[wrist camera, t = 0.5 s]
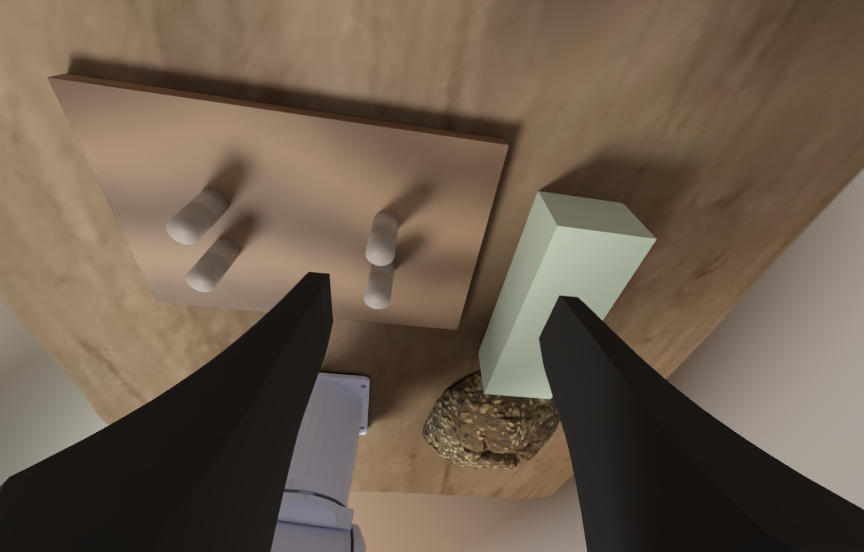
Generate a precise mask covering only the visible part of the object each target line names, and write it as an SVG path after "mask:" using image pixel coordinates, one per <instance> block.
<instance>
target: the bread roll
mask: <svg viewBox="0 0 864 552" xmlns="http://www.w3.org/2000/svg"><path fill="white" fill-rule="evenodd" d="M559 421H560V417H559V414H558V411H557V408H556V405H555V402H554V399H553V396H552V398H551V399H541V398H529V397H517V396H504V395H492V394H484V390H483V383H482V376H481V372H479V373H477V374H475V375H473V376H470V377H469V378H467V379H466V380H464V381H462V382H461V383H459V384H458V385H456V386H455V387H454V388H452V389H450V390H447V391H446V392H445V393H444V394H443V396H442V397H441V398H440V399H439V401H438V402H437V403H435V405H434V407H433V409H432V411H431V414H430V416H429V417H428V419H427V421H426V422H425V424H424V427H423V433H422V434H423V436H424V439H425V440H426V442H427V443H428V445H429V446H430V447H431V449H433V450H434V451H436V452H437V454H439V456H442V457H444V458H445V459H446V460H449V461H451V462H453V463H455V464H457V463H459V464H460V466H468V467H473V468H475V469H476V468H481V467H482V468H489V469H496V470H501V469H502V468H503V469H513V468H514V467H517V465H518V466H519V465H520V464H521V463H523V462H525V461H528V460H530V459H531V458H533V457H534V456H535V455H536V454H537V453H538V451H539V450H540V449H541V448H542V447H543V446H544V444H545V443H546V442H547V441H549V438H550V437H551V435H552V434H553V433H554V432H555V430H556V428H557V426H558V423H559Z"/></svg>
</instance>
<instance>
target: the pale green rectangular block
mask: <svg viewBox="0 0 864 552" xmlns="http://www.w3.org/2000/svg"><path fill="white" fill-rule="evenodd" d="M656 240H657V239H656V238H655V237H654V236H653V235H652V233H651V232H650V231H649V230H648V229H647V228H646V227H645V226H644V225H643V224H642V223H641V222H640V221H639V220H638V219H637V217H636V216H635V215H634V214H633V213H632V212H631V211H630V210H629V209H628V208H627V207H626V206H625V205H624V204H623V203H618V202H611V201H604V200H597V199H590V198H584V197H577V196H570V195H563V194H556V193H549V192H542V191H538V192H537V195H536V198H535V200H534V203H533V206H532V209H531V211H530V214H529V217H528V219H527V222H526V225H525V228H524V230H523V233H522V236H521V238H520V241H519V244H518V246H517V249H516V252H515V255H514V257H513V260H512V263H511V265H510V268H509V271H508V273H507V276H506V279H505V282H504V284H503V287H502V290H501V292H500V295H499V298H498V300H497V303H496V306H495V309H494V311H493V314H492V317H491V319H490V322H489V325H488V327H487V330H486V333H485V336H484V338H483V341H482V344H481V346H480V349H479V352H478V354H479V361H480V368H481V376H482V383H483V390H484V394H492V395H504V396H517V397H529V398H541V399H551V398H552V396H553V395H552V392H551V389H550V386H549V383H548V380H547V376H546V373H545V370H544V366H543V361H542V355H541V349H540V343H539V337H540V335H541V332H542V330H543V328H544V326H545V324H546V322H547V320H548V318H549V316H550V314H551V312H552V310H553V307H554V305H555V303H556V301H557V299H558V297H559V295H561V296H572V297H578V298H579V299H580V300H582V301H583V302H584V303H585V304H586V305H587V306H588V307H589V308H590V309H591V310H592V311H593V312H594V313H595V314H596V315H597V316H598V317H599V318H600V319H601V320H602V321H603V319H604V318H605V316H606V315H607V313H608V312H609V310H610V309H611V307H612V306H613V304H614V303H615V301H616V300H617V298H618V297H619V295H620V294H621V292H622V291H623V289H624V288H625V286H626V285H627V283H628V282H629V280H630V279H631V277H632V276H633V274H634V273H635V271H636V270H637V268H638V267H639V265H640V264H641V262H642V261H643V259H644V258H645V256H646V255H647V253H648V252H649V250H650V249H651V247H652V246H653V244H654V243H655V241H656Z"/></svg>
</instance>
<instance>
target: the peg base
mask: <svg viewBox="0 0 864 552" xmlns="http://www.w3.org/2000/svg"><path fill="white" fill-rule="evenodd" d="M47 78H48V80H49V82H50V84H51V86H52V88H53V90H54V92H55V94H56V96H57V98H58V101H59V103H60V105H61V107H62V109H63V111H64V113H65V115H66V117H67V119H68V121H69V123H70V125H71V127H72V129H73V131H74V133H75V136H76V138H77V140H78V142H79V144H80V146H81V148H82V150H83V152H84V154H85V156H86V158H87V160H88V162H89V164H90V166H91V168H92V170H93V173H94V175H95V177H96V179H97V181H98V183H99V185H100V187H101V189H102V191H103V193H104V195H105V197H106V199H107V201H108V203H109V205H110V207H111V210H112V212H113V214H114V216H115V218H116V220H117V222H118V224H119V226H120V228H121V230H122V232H123V234H124V236H125V238H126V240H127V242H128V244H129V247H130V249H131V251H132V253H133V255H134V257H135V259H136V261H137V263H138V265H139V267H140V269H141V271H142V273H143V275H144V277H145V279H146V281H147V284H148V286H149V288H150V290H151V292H152V294H153V296H154V298H155V300H156V302H165V303H175V304H186V305H197V306H207V307H218V308H228V309H239V310H249V311H260V312H269V311H270V310H271V309H272V308H273V307H274V306H275V305H276V304H277V303H278V302H279V301H280V300H281V299H282V298H283V297H284V296H285V295H286V294H287V293H288V292H289V291H290V290H291V289H292V288H293V287H294V286H295V285H296V284H297V283H298V282H299V281H300V280H301V279H302V278H303V277H304V276H305V275H306V274H307V273H308V272H317V273H328V274H330V285H331V299H332V313H333V318H334V319H345V320H355V321H366V322H376V323H387V324H398V325H408V326H419V327H429V328H440V329H450V330H458V326H459V322H460V319H461V315H462V312H463V308H464V304H465V301H466V297H467V294H468V290H469V287H470V283H471V279H472V276H473V272H474V269H475V265H476V261H477V258H478V254H479V251H480V247H481V243H482V240H483V236H484V233H485V229H486V225H487V222H488V218H489V215H490V211H491V208H492V204H493V200H494V197H495V193H496V190H497V186H498V182H499V179H500V175H501V172H502V168H503V164H504V161H505V157H506V154H507V150H508V146H509V145H508V143H507V141H506V139H504V138H498V137H491V136H484V135H478V134H471V133H464V132H457V131H451V130H444V129H437V128H430V127H424V126H417V125H410V124H404V123H397V122H390V121H383V120H377V119H370V118H363V117H357V116H350V115H343V114H336V113H330V112H323V111H316V110H310V109H303V108H296V107H289V106H283V105H276V104H269V103H262V102H256V101H249V100H242V99H236V98H229V97H222V96H215V95H209V94H202V93H195V92H189V91H182V90H175V89H168V88H162V87H155V86H148V85H141V84H135V83H128V82H121V81H115V80H108V79H101V78H94V77H88V76H81V75H74V74H68V73H66V74H61V75H57V76H52V77H47Z"/></svg>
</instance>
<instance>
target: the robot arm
mask: <svg viewBox="0 0 864 552" xmlns="http://www.w3.org/2000/svg"><path fill="white" fill-rule="evenodd" d="M332 324H333V313H332V299H331V285H330V274H328V273H317V272H308V273H307V274H306V275H305V276H304V277H303V278H302V279H301V280H300V281H299V282H298V283H297V284H296V285H295V286H294V287H293V288H292V289H291V290H290V291H289V292H288V293H287V294H286V295H285V296H284V297H283V298H282V299H281V300H280V301H279V302H278V303H277V304H276V305H275V306H274V307H273V308H272V309H271V310H270V311H269V312H268V313H267V314H266V315H265V316H264V317H263V318H261V319H260V320H259V321H258V322H257V323H256V324H255V325H254V326H252V327H251V328H250V329H249V330H248V331H247V332H246V333H244V334H243V335H242V336H241V337H240V338H239V339H237V340H236V341H235V342H234V343H233V344H231V345H230V346H229V347H228V348H226V349H225V350H224V351H223V352H221V353H220V354H219V355H217V356H216V357H215V358H213V359H212V360H211V361H209V362H208V363H207V364H205V365H204V366H203V367H201V368H200V369H198V370H197V371H196V372H194V373H193V374H191V375H190V376H188V377H187V378H185V379H184V380H182V381H181V382H179V383H178V384H176V385H175V386H173V387H172V388H170V389H169V390H167V391H166V392H164V393H163V394H161V395H160V396H158V397H157V398H155V399H153V400H152V401H150V402H148V403H147V404H145V405H143V406H142V407H140V408H138V409H137V410H135V411H133V412H131V413H130V414H128V415H126V416H125V417H123V418H121V419H120V420H118V421H116V422H114V423H112V424H111V425H109V426H107V427H105V428H104V429H102V430H100V431H98V432H96V433H95V434H93V435H91V436H89V437H87V438H85V439H84V440H82V441H80V442H78V443H76V444H74V445H72V446H70V447H68V448H66V449H64V450H62V451H60V452H58V453H56V454H55V455H52V456H50V457H48V458H46V459H44V460H42V461H41V462H39V463H37V464H35V465H33V466H31V467H29V468H27V469H25V470H23V471H21V472H19V473H17V474H15V475H13V476H10V477H9V478H8V479H7V480H6V481H5V482H4V483H3V484H2V485H1V486H0V552H366V546H365V541H364V538H363V536H362V534H361V530H360V528H359V526H358V525H356V524H352V519H353V512H354V510H353V509H349V508H347V506H348V499H349V493H350V487H351V481H352V475H353V469H354V462H355V456H356V450H357V444H358V438H359V435H365V434H366V433H367V425H368V406H369V387H370V379H369V378H368V377H366V376H356V375H343V374H331V373H319V371H320V368H321V365H322V362H323V360H324V357H325V354H326V351H327V347H328V342H329V338H330V333H331V329H332ZM539 343H540V349H541V355H542V361H543V366H544V370H545V373H546V376H547V380H548V383H549V386H550V389H551V392H552V395H553V399H554V402H555V405H556V408H557V411H558V414H559V417H560V420H561V424H562V427H563V430H564V433H565V437H566V440H567V444H568V448H569V452H570V457H571V462H572V466H573V471H574V476H575V480H576V486H577V491H578V497H579V502H580V508H581V513H582V519H583V526H584V532H585V539H586V546H587V552H864V510H863V509H862V508H860V507H858V506H856V505H854V504H853V503H851V502H849V501H847V500H845V499H844V498H842V497H840V496H838V495H837V494H835V493H833V492H831V491H830V490H828V489H826V488H824V487H823V486H821V485H819V484H817V483H816V482H814V481H812V480H810V479H808V478H807V477H805V476H803V475H802V474H800V473H798V472H797V471H795V470H793V469H792V468H790V467H789V466H787V465H785V464H784V463H782V462H781V461H779V460H777V459H776V458H774V457H772V456H771V455H769V454H768V453H766V452H764V451H763V450H761V449H760V448H758V447H757V446H755V445H754V444H752V443H751V442H749V441H748V440H746V439H745V438H743V437H742V436H740V435H739V434H737V433H736V432H734V431H733V430H731V429H730V428H729V427H727V426H726V425H724V424H723V423H721V422H720V421H719V420H717V419H716V418H714V417H713V416H712V415H710V414H709V413H708V412H706V411H705V410H703V409H702V408H701V407H699V406H698V405H697V404H695V403H694V402H693V401H692V400H690V399H689V398H688V397H687V396H685V395H684V394H683V393H681V392H680V391H679V390H678V389H676V388H675V387H674V386H672V385H671V384H670V383H669V382H668V381H667V380H665V379H664V378H663V377H662V376H661V375H660V374H659V373H657V372H656V371H655V370H654V369H653V368H652V367H651V366H650V365H648V364H647V363H646V362H645V361H644V360H643V359H642V358H641V357H640V356H638V355H637V354H636V353H635V352H634V351H633V350H632V349H631V348H630V347H629V346H628V345H627V344H626V343H625V342H624V341H623V340H622V339H621V338H620V337H618V336H617V335H616V334H615V333H614V332H613V331H612V330H611V329H610V328H609V327H608V326H607V325H606V324H605V323H604V322H603V321H602V320H601V319H600V318H599V317H598V316H597V315H596V314H595V313H594V312H593V311H592V310H591V309H590V308H589V307H588V306H587V305H586V304H585V303H584V302H583V301H582V300H580V299H579V298H578V297H572V296H561V295H559V297H558V299H557V301H556V303H555V305H554V307H553V310H552V312H551V314H550V316H549V318H548V320H547V322H546V324H545V326H544V328H543V330H542V332H541V335H540V337H539Z"/></svg>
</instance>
